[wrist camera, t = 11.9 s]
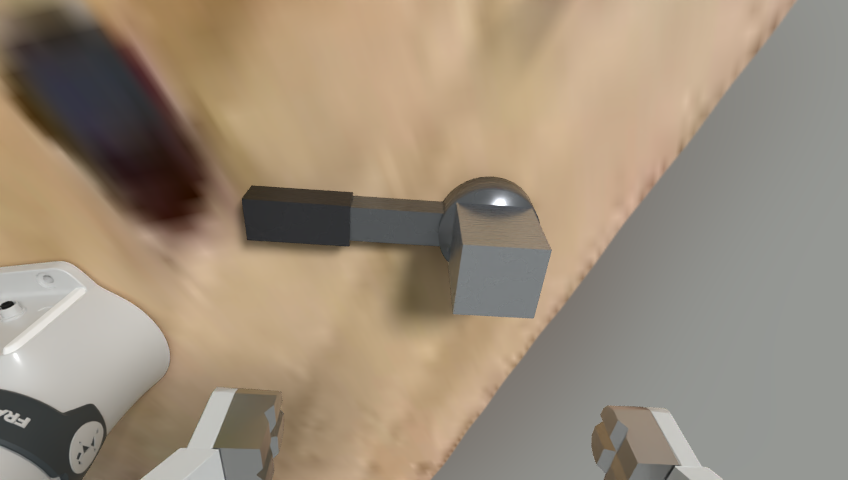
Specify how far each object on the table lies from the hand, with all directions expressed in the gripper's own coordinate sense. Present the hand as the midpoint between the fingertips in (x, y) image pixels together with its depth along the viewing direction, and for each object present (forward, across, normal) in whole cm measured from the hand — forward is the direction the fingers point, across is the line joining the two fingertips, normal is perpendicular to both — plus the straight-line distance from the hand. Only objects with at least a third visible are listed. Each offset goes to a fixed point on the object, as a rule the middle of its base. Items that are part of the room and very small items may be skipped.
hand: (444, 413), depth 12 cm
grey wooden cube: (+23, -6, +8) cm, 26 cm away
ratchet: (+26, +1, +8) cm, 27 cm away
